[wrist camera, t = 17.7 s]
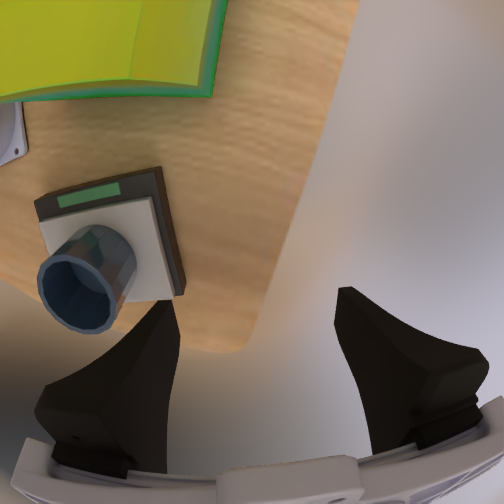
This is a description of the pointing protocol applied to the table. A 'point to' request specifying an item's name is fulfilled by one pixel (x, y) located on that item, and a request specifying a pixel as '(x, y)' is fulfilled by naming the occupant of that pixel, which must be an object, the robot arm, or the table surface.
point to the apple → (108, 48)
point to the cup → (88, 279)
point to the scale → (122, 226)
